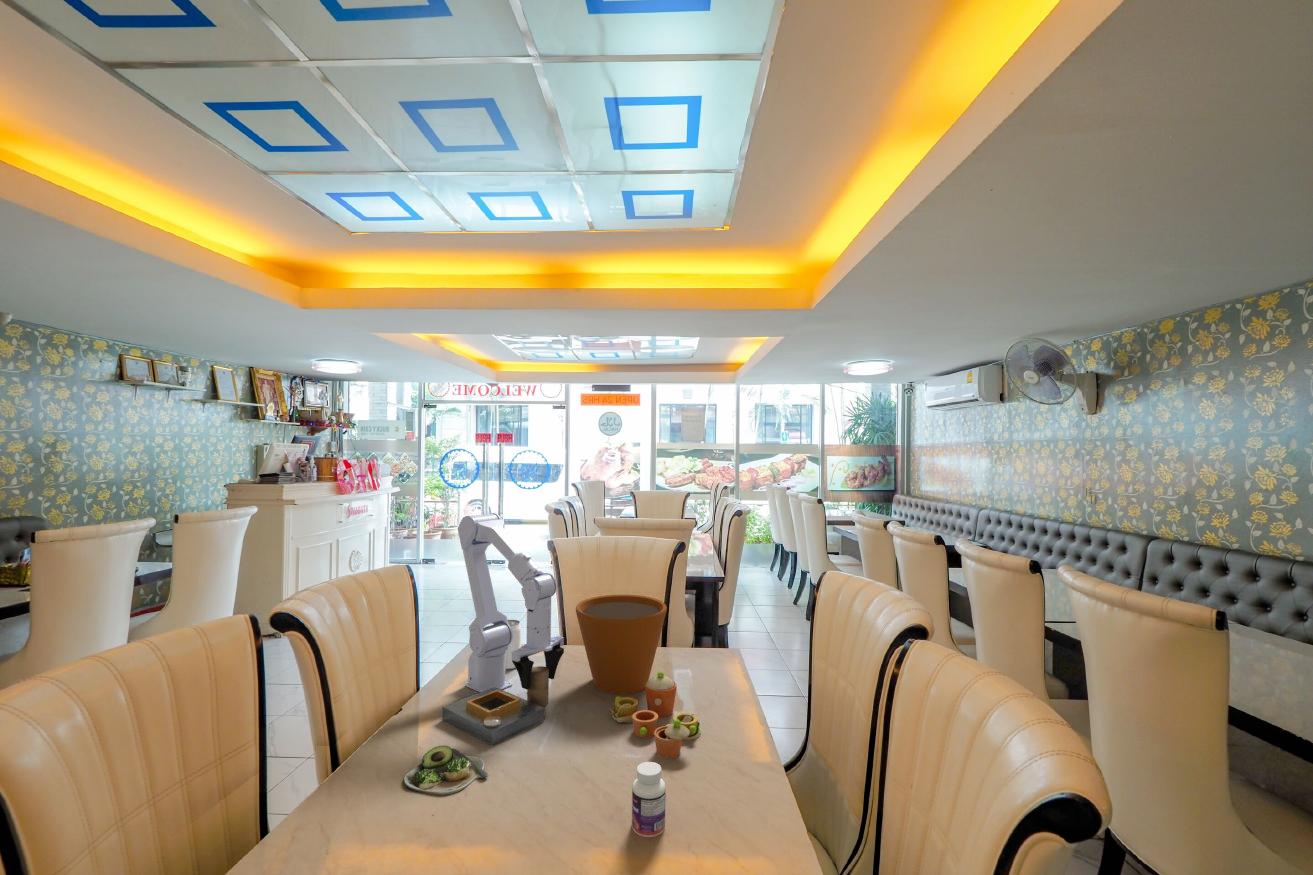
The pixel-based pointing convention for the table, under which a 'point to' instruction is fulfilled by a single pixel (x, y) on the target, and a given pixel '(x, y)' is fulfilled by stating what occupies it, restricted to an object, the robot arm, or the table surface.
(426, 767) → the salad plate
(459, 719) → the gray peg socket base
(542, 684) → the walnut peg
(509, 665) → the can
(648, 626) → the flower pot
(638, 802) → the pill bottle
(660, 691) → the toy tea set
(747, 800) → the table surface
